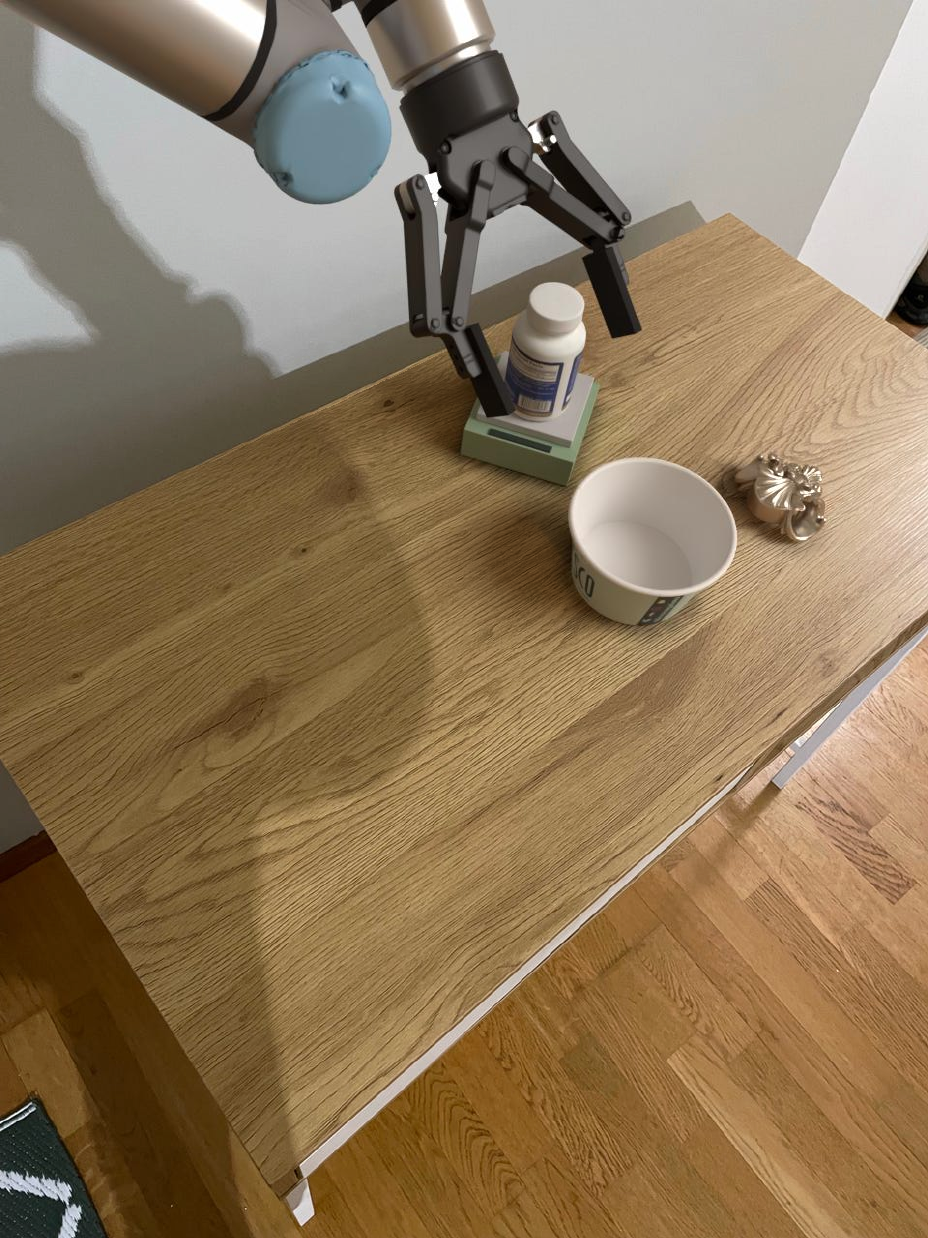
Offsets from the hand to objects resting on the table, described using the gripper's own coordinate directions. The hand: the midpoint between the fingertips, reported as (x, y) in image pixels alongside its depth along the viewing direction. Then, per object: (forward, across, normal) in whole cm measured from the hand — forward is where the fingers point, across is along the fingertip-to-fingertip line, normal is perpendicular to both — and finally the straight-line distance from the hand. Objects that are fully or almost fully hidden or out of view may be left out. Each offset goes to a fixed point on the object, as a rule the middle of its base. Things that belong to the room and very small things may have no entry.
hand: (566, 373), depth 70 cm
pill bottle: (+2, 0, -5) cm, 5 cm away
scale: (+4, 0, -8) cm, 9 cm away
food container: (+15, +4, +3) cm, 16 cm away
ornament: (+17, -11, +5) cm, 21 cm away
